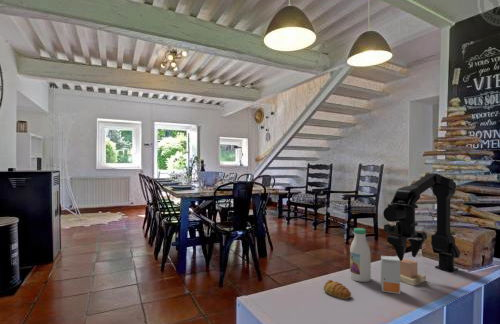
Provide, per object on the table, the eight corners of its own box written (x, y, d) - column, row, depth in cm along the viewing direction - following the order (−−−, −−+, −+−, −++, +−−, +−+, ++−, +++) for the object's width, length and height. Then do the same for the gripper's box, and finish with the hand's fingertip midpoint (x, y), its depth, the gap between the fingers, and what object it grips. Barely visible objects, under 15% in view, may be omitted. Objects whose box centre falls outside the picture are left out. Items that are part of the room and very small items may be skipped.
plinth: (403, 273, 118) (403, 268, 118) (425, 280, 110) (425, 275, 110) (390, 277, 113) (390, 272, 113) (412, 285, 105) (412, 279, 105)
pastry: (355, 297, 97) (355, 286, 97) (343, 302, 93) (343, 291, 93) (333, 287, 104) (332, 277, 104) (321, 292, 100) (321, 282, 100)
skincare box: (381, 292, 100) (381, 258, 100) (380, 287, 104) (380, 255, 104) (400, 294, 98) (400, 260, 98) (399, 289, 102) (398, 256, 102)
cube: (405, 270, 115) (405, 258, 115) (417, 274, 111) (417, 261, 111) (398, 272, 112) (397, 260, 113) (410, 277, 108) (410, 264, 108)
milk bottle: (367, 275, 116) (366, 227, 116) (373, 282, 108) (373, 231, 108) (348, 274, 116) (347, 226, 117) (353, 282, 109) (352, 230, 109)
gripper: (401, 214, 123) (401, 250, 123) (374, 218, 114) (374, 256, 114) (427, 218, 114) (428, 257, 114) (400, 223, 105) (401, 265, 104)
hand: (407, 258), depth 112 cm, fingers open, 9 cm apart
